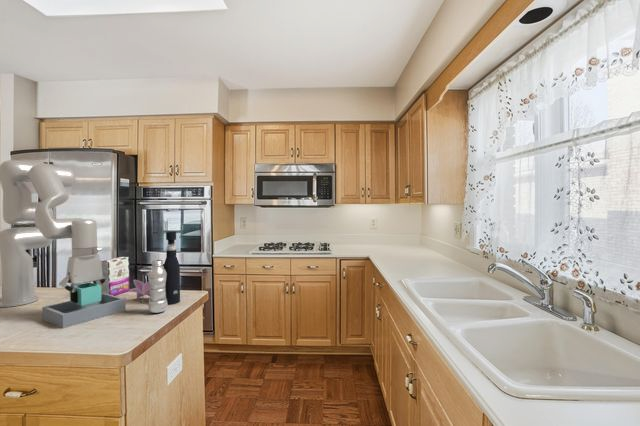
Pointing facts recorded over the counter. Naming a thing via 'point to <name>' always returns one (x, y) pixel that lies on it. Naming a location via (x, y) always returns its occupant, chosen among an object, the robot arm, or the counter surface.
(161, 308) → the silver ribbed bottle
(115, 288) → the candy bar box
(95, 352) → the counter surface
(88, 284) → the teal crate
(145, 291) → the lily
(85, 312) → the gray crate
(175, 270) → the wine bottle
